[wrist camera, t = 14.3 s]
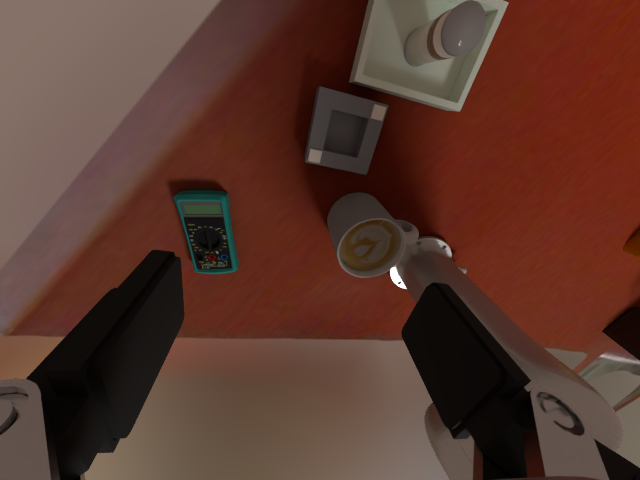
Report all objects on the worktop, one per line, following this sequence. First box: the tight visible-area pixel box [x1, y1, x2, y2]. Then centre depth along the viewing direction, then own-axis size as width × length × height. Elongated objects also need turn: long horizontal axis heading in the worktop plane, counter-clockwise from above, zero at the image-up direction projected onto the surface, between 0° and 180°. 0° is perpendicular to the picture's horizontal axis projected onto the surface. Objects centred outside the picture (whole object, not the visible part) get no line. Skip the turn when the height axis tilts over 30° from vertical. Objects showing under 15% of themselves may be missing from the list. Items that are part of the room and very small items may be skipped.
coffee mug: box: [327, 192, 419, 278], centre depth 38 cm, size 13×10×10 cm
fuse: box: [404, 0, 486, 67], centre depth 26 cm, size 4×4×9 cm
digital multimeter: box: [174, 190, 239, 274], centre depth 39 cm, size 7×15×3 cm, turn 177°
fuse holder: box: [304, 86, 389, 175], centre depth 33 cm, size 9×9×4 cm
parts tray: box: [349, 0, 508, 112], centre depth 29 cm, size 15×11×3 cm
